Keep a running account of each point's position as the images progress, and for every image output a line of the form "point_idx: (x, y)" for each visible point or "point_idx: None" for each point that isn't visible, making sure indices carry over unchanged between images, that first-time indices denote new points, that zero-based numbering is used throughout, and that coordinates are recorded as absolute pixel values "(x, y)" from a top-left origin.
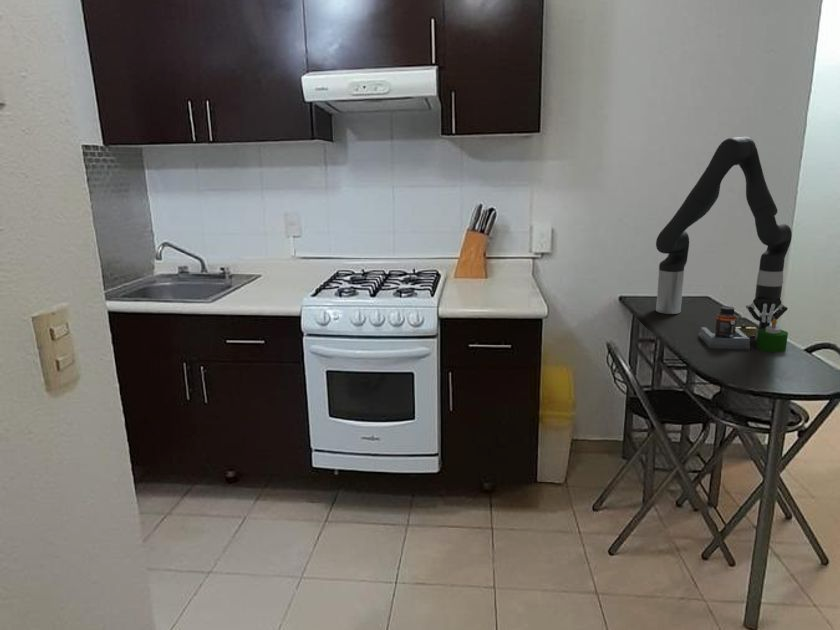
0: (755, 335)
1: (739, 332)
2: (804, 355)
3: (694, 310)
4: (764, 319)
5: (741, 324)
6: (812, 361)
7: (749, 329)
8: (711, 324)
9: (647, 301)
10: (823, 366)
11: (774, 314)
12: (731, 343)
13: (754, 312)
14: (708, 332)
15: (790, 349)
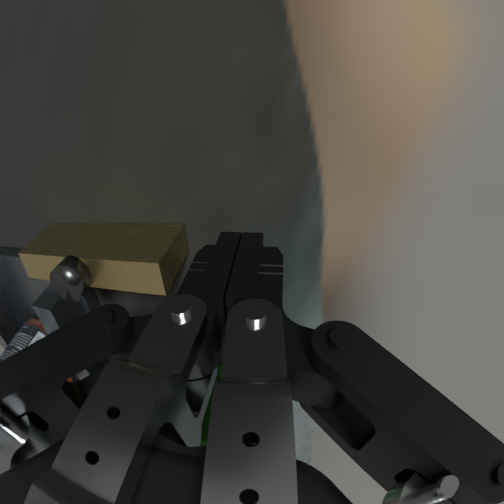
0: (183, 256)
1: (80, 374)
2: (305, 432)
3: None
4: (200, 386)
5: (51, 276)
6: (297, 449)
7: (120, 284)
8: (12, 6)
9: None
10: (302, 458)
11: (364, 398)
12: None
13: (68, 427)
14: (4, 345)
15: (293, 406)
